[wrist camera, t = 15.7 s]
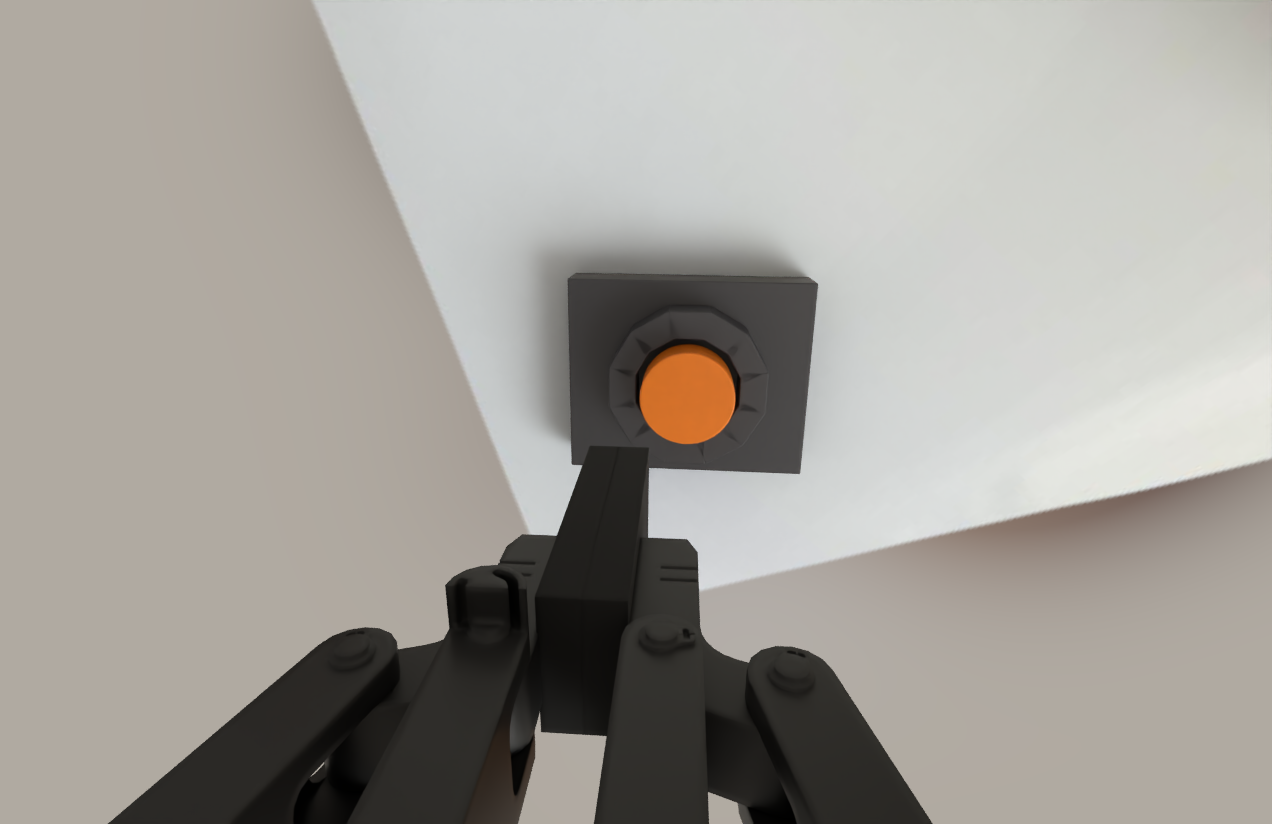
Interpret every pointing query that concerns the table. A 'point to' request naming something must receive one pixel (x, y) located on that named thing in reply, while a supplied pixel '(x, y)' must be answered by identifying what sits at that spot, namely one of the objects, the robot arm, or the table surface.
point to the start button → (687, 394)
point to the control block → (701, 315)
